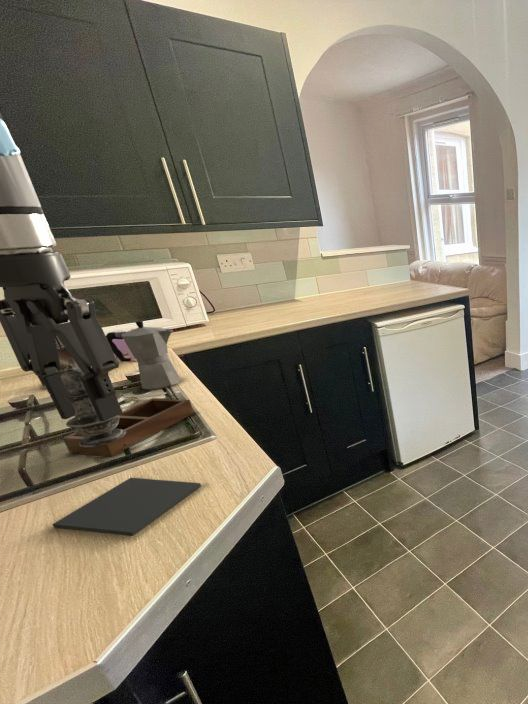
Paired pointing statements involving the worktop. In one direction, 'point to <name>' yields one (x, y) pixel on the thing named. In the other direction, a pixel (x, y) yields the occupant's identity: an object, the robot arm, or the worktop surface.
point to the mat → (128, 506)
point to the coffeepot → (148, 354)
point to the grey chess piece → (88, 413)
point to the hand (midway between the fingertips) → (92, 415)
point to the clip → (123, 347)
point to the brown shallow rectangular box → (136, 425)
